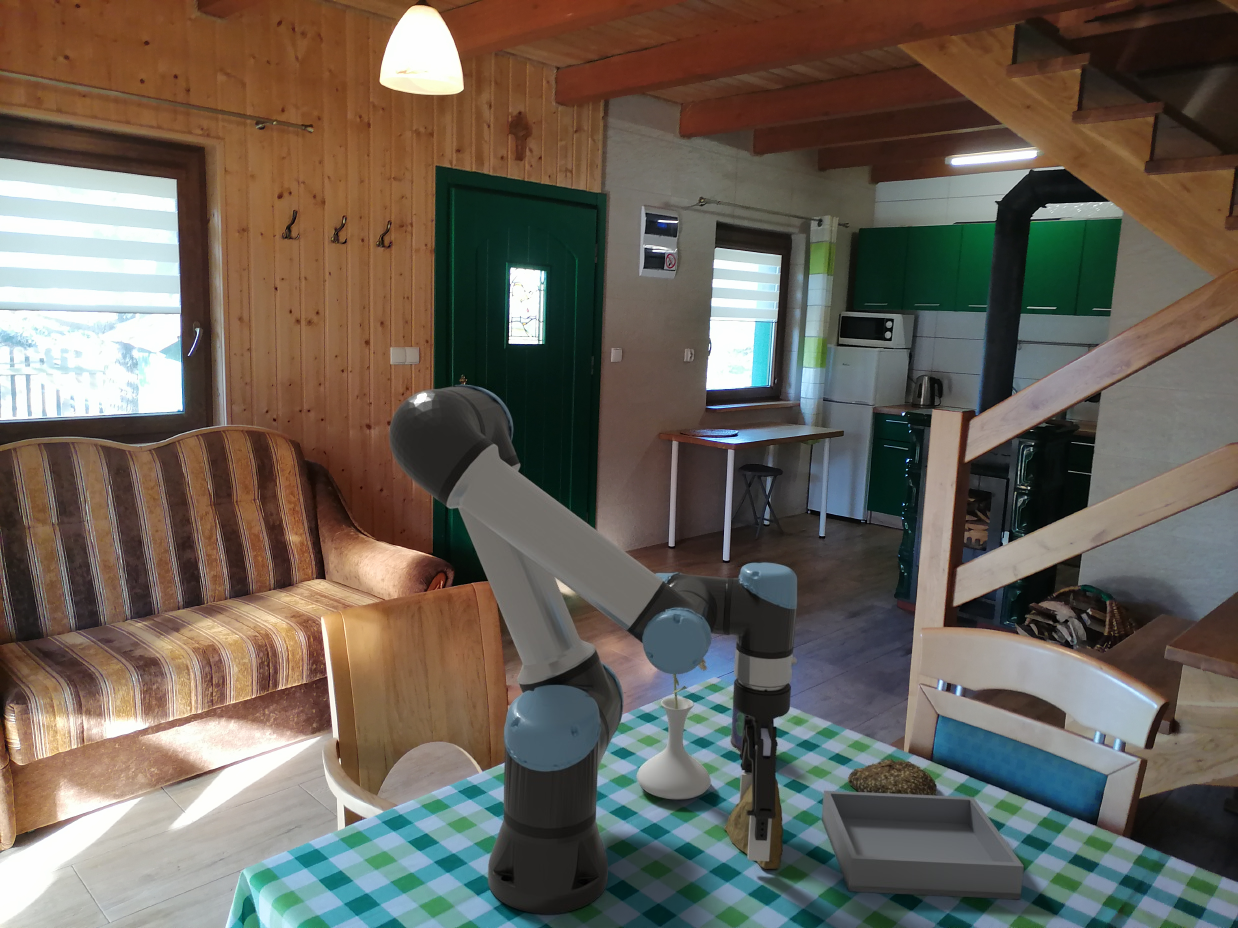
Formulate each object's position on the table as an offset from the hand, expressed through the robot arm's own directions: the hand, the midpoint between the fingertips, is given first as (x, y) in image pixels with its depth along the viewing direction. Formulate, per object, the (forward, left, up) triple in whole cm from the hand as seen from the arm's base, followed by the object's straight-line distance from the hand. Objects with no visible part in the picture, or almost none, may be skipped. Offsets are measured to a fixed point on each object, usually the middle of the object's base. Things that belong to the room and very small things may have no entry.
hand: (753, 836), depth 127 cm
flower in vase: (-10, +17, -2) cm, 20 cm away
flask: (+3, +30, -2) cm, 30 cm away
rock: (0, 0, -2) cm, 2 cm away
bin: (+22, 0, -2) cm, 22 cm away
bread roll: (+25, +19, -2) cm, 31 cm away
